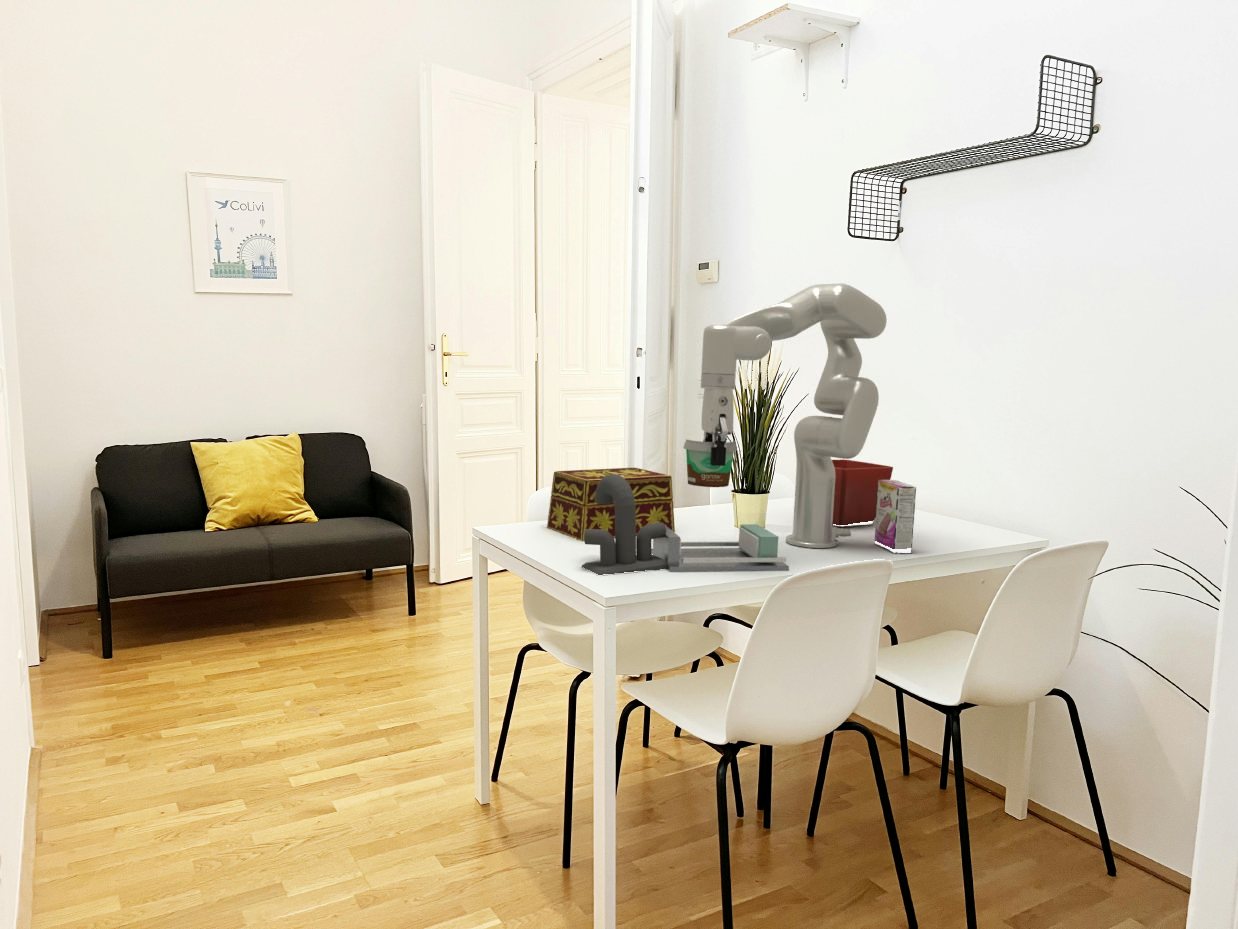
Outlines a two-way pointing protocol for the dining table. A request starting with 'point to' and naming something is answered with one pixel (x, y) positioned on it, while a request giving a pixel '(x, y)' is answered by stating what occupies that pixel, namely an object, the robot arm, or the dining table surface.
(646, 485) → the decorative box
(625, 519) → the faucet
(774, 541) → the block
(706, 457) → the food container
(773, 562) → the vise bed
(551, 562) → the dining table surface
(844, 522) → the plant pot
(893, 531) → the candy bar box
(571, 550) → the dining table surface
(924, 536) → the dining table surface
